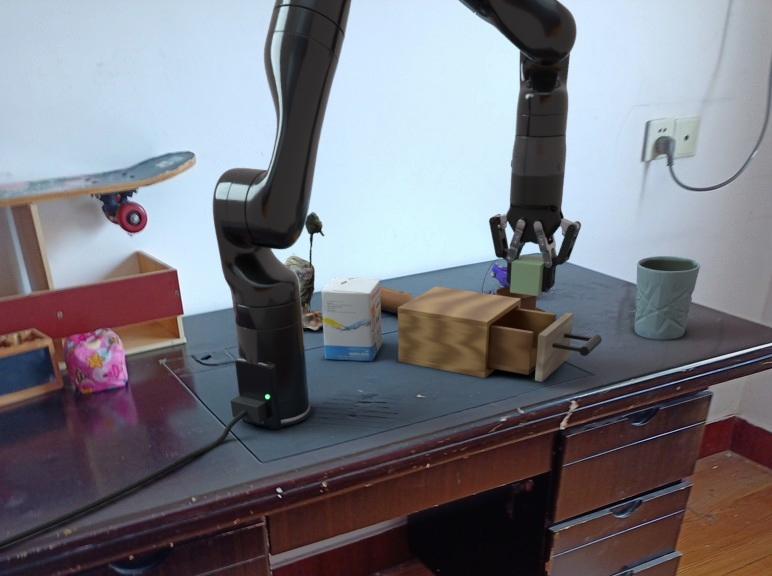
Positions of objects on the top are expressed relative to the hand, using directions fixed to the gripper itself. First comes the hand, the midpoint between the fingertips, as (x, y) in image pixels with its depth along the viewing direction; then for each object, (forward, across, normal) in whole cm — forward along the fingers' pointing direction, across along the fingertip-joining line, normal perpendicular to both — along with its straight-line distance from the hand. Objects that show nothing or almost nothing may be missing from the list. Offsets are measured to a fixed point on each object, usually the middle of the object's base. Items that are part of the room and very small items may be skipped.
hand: (529, 288), depth 127 cm
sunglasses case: (+13, +34, -17) cm, 40 cm away
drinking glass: (+13, -14, -27) cm, 33 cm away
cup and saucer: (+13, +10, -19) cm, 25 cm away
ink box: (+13, +29, +6) cm, 32 cm away
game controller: (+13, +18, -34) cm, 41 cm away
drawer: (+12, -1, 0) cm, 12 cm away
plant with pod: (+13, +45, -2) cm, 47 cm away
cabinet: (+13, +12, 0) cm, 18 cm away
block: (0, 0, 0) cm, 0 cm away
